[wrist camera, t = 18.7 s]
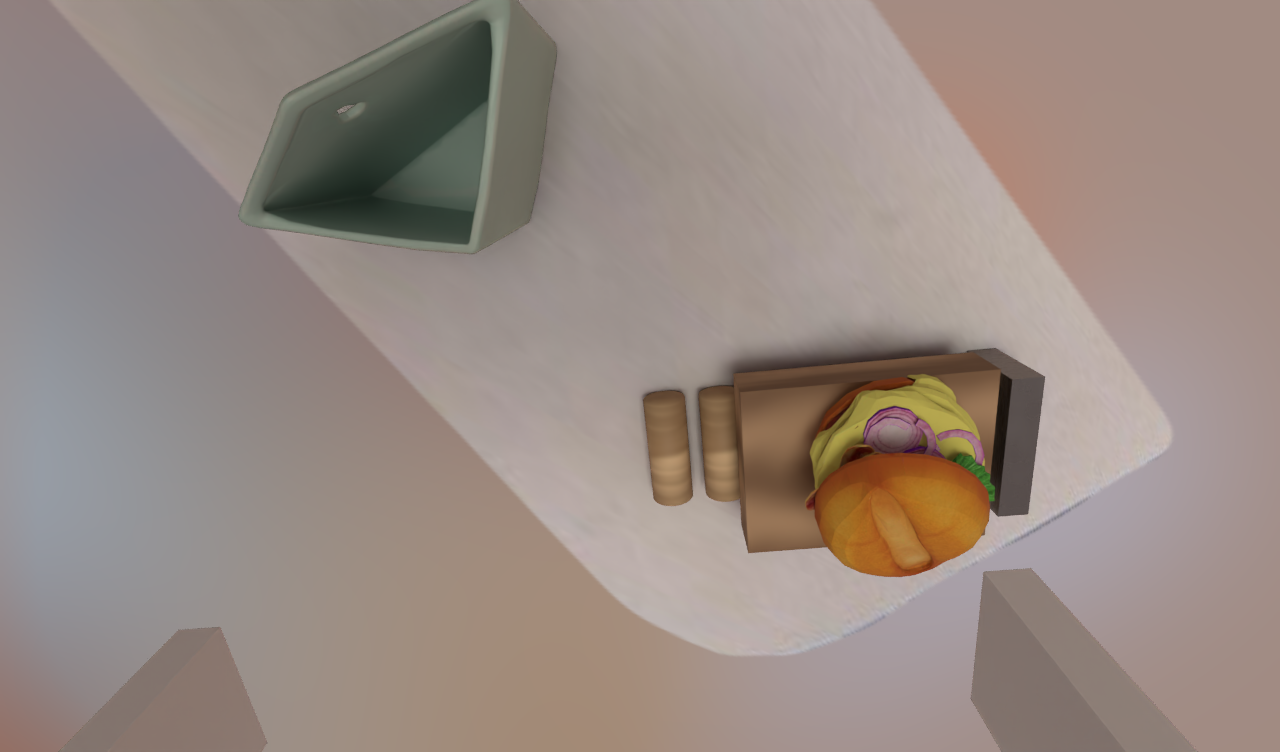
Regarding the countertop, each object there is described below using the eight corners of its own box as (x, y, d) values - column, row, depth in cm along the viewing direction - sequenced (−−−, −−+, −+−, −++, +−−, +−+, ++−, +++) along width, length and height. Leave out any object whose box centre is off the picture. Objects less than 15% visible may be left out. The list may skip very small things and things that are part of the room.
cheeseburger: (1003, 403, 39) (1080, 520, 31) (894, 509, 45) (934, 632, 36) (866, 335, 38) (908, 438, 29) (771, 453, 43) (783, 569, 35)
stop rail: (967, 350, 45) (1012, 379, 39) (995, 348, 45) (1045, 376, 39) (957, 473, 48) (997, 516, 43) (983, 471, 48) (1028, 514, 43)
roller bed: (643, 392, 46) (642, 408, 44) (958, 364, 45) (979, 378, 42) (653, 486, 49) (653, 507, 46) (951, 462, 48) (970, 482, 45)
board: (733, 373, 43) (740, 392, 39) (973, 352, 42) (1000, 369, 38) (741, 524, 47) (748, 553, 43) (960, 507, 46) (984, 535, 42)
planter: (438, 290, 44) (282, 392, 26) (359, 195, 42) (129, 230, 23) (626, 149, 41) (604, 147, 22) (551, 37, 39) (459, -68, 20)
